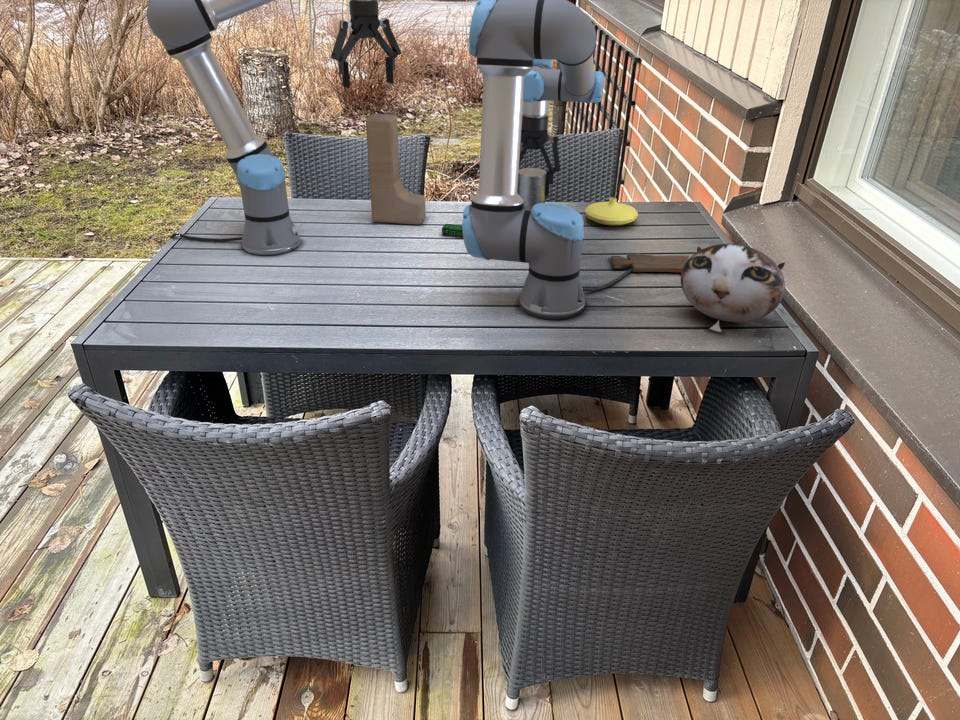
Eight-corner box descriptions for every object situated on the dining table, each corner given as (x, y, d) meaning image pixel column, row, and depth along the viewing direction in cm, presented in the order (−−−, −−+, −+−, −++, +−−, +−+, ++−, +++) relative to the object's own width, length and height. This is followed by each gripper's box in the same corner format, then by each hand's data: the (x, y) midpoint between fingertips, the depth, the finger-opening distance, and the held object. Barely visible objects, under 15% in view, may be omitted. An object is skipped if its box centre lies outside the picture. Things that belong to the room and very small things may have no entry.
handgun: (511, 219, 210) (493, 234, 198) (511, 228, 211) (492, 244, 199) (461, 212, 215) (440, 226, 203) (461, 221, 217) (440, 236, 204)
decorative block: (420, 225, 212) (417, 121, 196) (371, 222, 213) (364, 118, 198) (426, 217, 218) (423, 115, 203) (378, 214, 220) (371, 113, 204)
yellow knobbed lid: (599, 209, 226) (601, 187, 223) (645, 219, 218) (648, 197, 215) (575, 222, 215) (576, 200, 212) (622, 234, 207) (625, 211, 204)
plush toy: (658, 308, 155) (687, 223, 157) (673, 329, 171) (700, 252, 172) (764, 333, 144) (794, 241, 146) (770, 354, 160) (797, 271, 162)
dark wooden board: (713, 276, 184) (704, 260, 192) (715, 269, 183) (705, 255, 191) (613, 272, 184) (608, 257, 192) (614, 266, 183) (609, 251, 192)
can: (512, 202, 213) (513, 168, 207) (538, 200, 215) (540, 167, 210) (521, 211, 206) (522, 177, 200) (548, 209, 208) (551, 175, 202)
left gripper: (326, 2, 178) (333, 91, 189) (411, -2, 191) (414, 82, 202) (313, -1, 183) (321, 87, 194) (397, -4, 196) (400, 78, 207)
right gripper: (571, 111, 201) (565, 190, 212) (495, 111, 199) (493, 191, 211) (575, 117, 194) (569, 198, 206) (497, 117, 193) (495, 199, 205)
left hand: (368, 85), depth 198 cm, fingers open, 13 cm apart
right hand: (530, 194), depth 208 cm, fingers closed on can, 8 cm apart
